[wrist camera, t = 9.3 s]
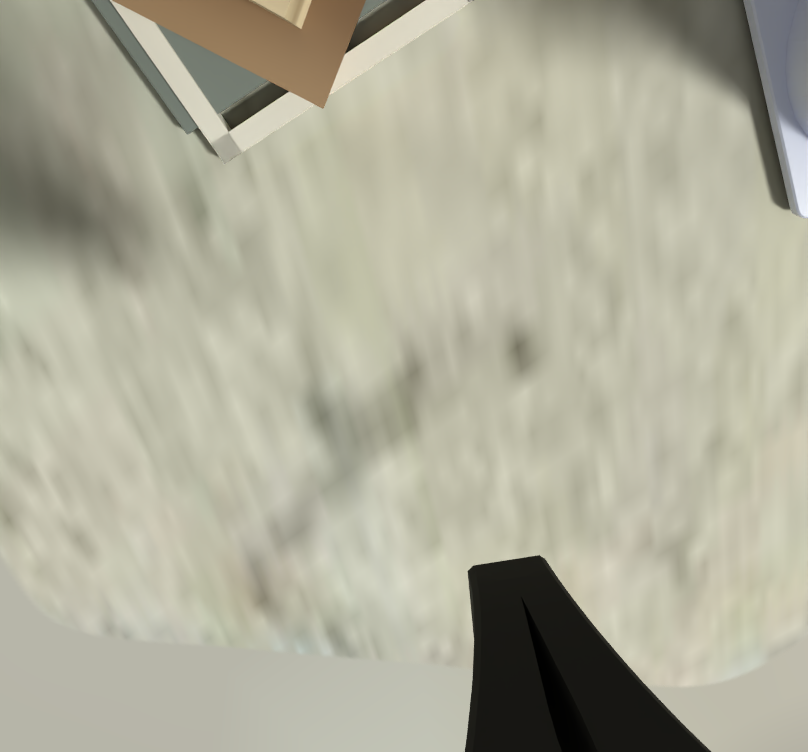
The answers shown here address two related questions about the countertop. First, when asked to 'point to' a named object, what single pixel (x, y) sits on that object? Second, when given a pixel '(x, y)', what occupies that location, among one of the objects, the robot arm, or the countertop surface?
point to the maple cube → (287, 9)
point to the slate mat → (245, 71)
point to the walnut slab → (265, 38)
